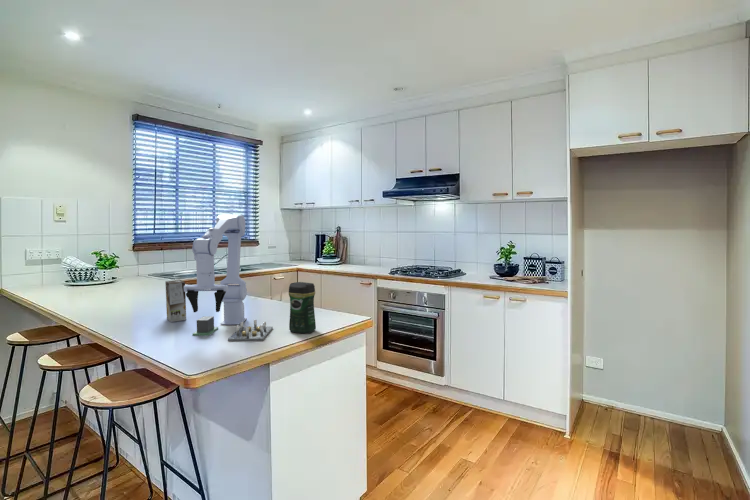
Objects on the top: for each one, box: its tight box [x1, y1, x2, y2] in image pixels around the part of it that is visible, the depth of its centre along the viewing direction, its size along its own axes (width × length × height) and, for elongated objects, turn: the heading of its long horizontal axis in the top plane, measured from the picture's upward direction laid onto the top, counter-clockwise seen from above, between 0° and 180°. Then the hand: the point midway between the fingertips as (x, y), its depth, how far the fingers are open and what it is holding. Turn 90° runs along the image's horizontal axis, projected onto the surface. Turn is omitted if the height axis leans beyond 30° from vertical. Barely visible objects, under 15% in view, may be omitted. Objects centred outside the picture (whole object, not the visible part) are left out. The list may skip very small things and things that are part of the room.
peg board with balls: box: [227, 319, 274, 342], centre depth 148 cm, size 16×12×4 cm
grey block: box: [191, 315, 219, 337], centre depth 151 cm, size 9×6×6 cm, turn 1°
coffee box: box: [165, 279, 187, 323], centre depth 171 cm, size 9×6×16 cm
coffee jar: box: [288, 281, 317, 334], centre depth 152 cm, size 10×8×19 cm
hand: (206, 311), depth 141 cm, fingers open, 7 cm apart
